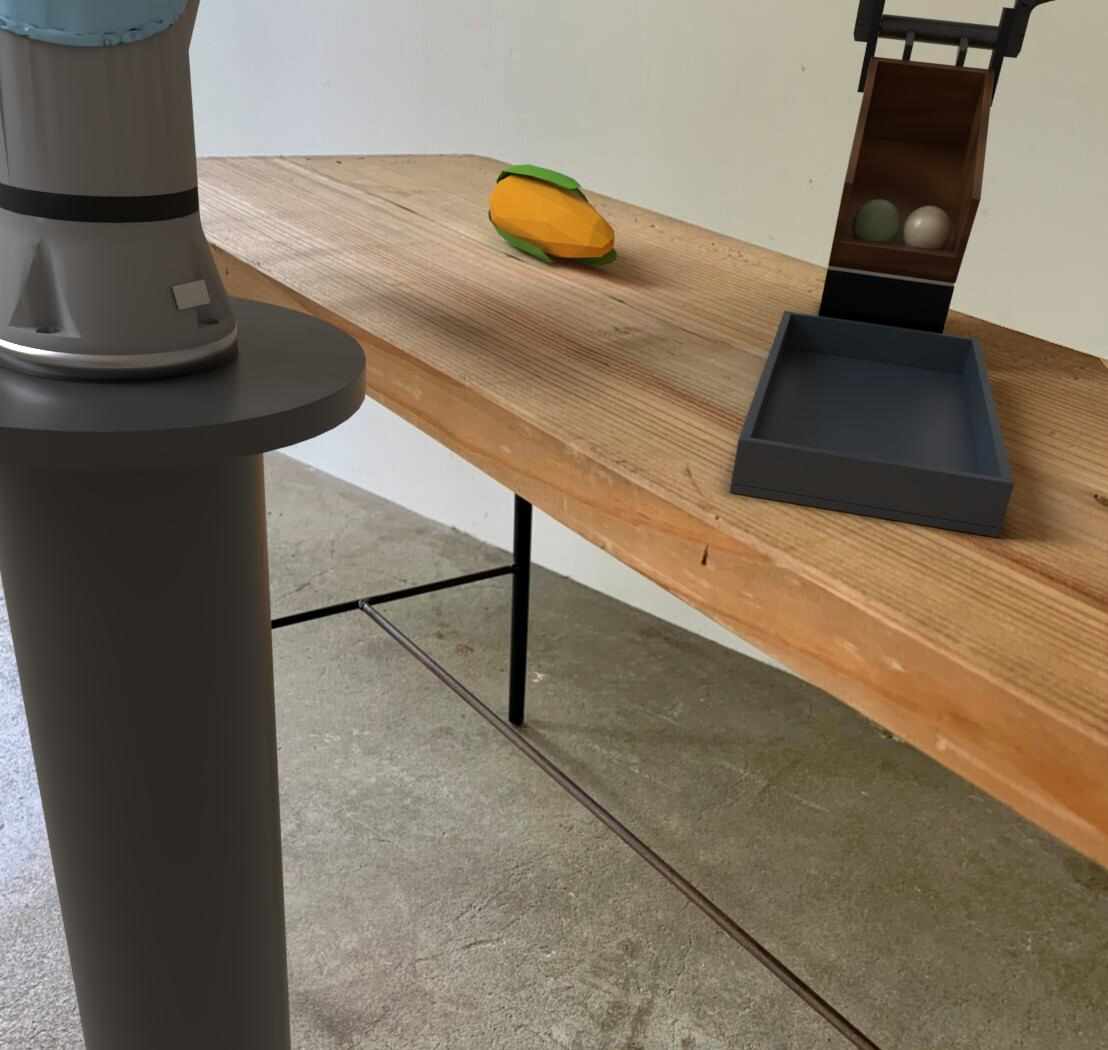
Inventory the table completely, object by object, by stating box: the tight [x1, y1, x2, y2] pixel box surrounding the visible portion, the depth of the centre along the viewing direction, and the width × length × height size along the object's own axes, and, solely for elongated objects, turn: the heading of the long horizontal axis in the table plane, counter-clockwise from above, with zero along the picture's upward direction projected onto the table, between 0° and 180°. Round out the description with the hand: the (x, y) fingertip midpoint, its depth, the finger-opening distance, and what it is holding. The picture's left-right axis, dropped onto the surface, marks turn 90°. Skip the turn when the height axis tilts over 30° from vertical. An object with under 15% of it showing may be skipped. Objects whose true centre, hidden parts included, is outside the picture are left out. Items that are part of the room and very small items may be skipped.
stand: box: [817, 265, 955, 334], centre depth 97 cm, size 17×9×6 cm, turn 166°
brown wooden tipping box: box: [827, 13, 1000, 284], centre depth 90 cm, size 21×9×8 cm, turn 166°
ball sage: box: [852, 199, 901, 244], centre depth 87 cm, size 3×3×3 cm
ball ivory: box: [902, 206, 951, 250], centre depth 87 cm, size 3×3×3 cm
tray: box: [729, 310, 1015, 538], centre depth 76 cm, size 31×14×3 cm, turn 166°
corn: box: [488, 163, 618, 266], centre depth 110 cm, size 7×8×20 cm
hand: (923, 97), depth 95 cm, fingers closed on brown wooden tipping box, 9 cm apart
